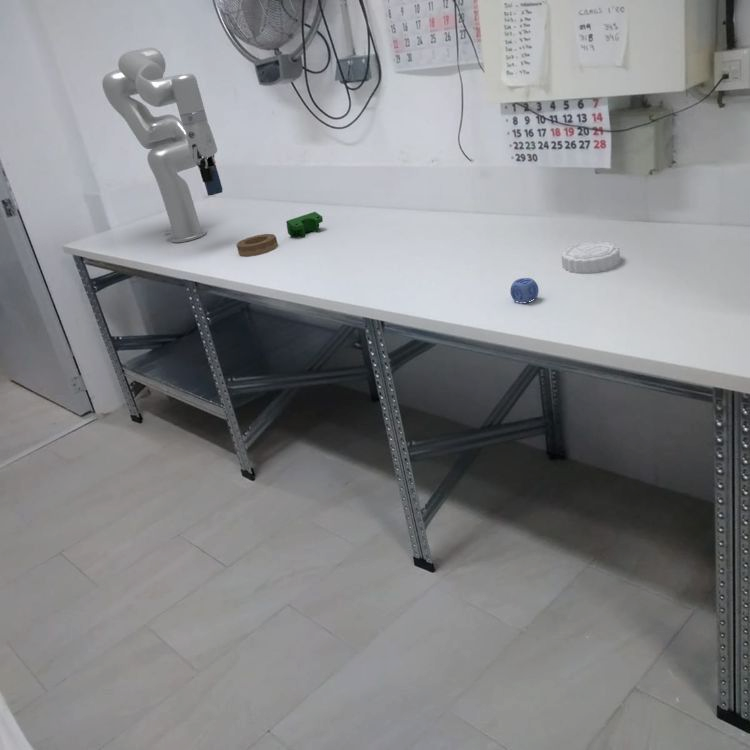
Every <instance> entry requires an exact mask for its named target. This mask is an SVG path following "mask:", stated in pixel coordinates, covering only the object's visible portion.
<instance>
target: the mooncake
mask: <svg viewBox="0 0 750 750" xmlns="http://www.w3.org/2000/svg"><path fill="white" fill-rule="evenodd" d="M620 254H621V252H620V247H619V246H618V245H616V244H614V243H613V244H612V243H611V242H606V241H592V242H591V241H590V242H585V243H578V244H575V245H572V246H570V247H569V248H567V249H565V250H564V251H563V252H561V263H562V265H561V266H562V269H563V270H564V271H565V270H566V272H568V273H575V274H590V273H591V274H595V273H596V274H597V273H599V272H605V271H606V272H607V270H611V269H613V268H615V267H617V266H618V265H619V264H620V263H621V257H620Z"/></svg>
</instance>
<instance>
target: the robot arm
mask: <svg viewBox="0 0 750 750" xmlns="http://www.w3.org/2000/svg"><path fill="white" fill-rule="evenodd" d="M117 66H118V69H117V70H113V71H110V72H108V73H107V74H105V76H104V77H103V78H102V83H101V84H102V90H103V92H104V95H105V97H106V99H107V101H108V103H109V104H110V105H111V106H112V108H113V109H114V110H115V111H116V112H117V113H118V114H119V115H120V116H121V117H122V118H123V119H124V121H125V122H126V123H127V125H128V127H129V128H130V130H131V131H132V133H133V134H134V137H135V138H136V139H137V141H138V142H139V144H140V145H141V146H142V147H143V148H144V149H146V150H149V152H148V154H147V163H148V166H149V168H150V170H151V171H152V174H153V176H154V178H155V180H156V183H157V186H158V189H159V192H160V194H161V197H162V201H163V204H164V207H165V211H166V213H167V214H166V215H167V216H168V221H169V223H170V226H171V227H169V228H164V229H163V230H162V232H163V235H164V236H169V235H170V241H171V243H174V244H175V243H177V244H178V243H184V242H190V241H193V240H196V239H199V238H202V237H204V236H205V235H206V234H207V233H208V232H207V230H206V229H205V228H201V224H200V221H199V218H198V215H197V211H196V207H195V204H194V200H193V197H192V195H191V191H190V190H191V189H190V187H189V185H188V183H187V181H186V180H185V179H184V178H183V177H181V176H180V175H179V174H178V173H180V172H183V171H185V170H186V171H187V170H189V169H193V168H195V167H198V170H199V173H200V175H201V180H202V182H203V183H204V182H210V181H213V178H212V174H211V171H210V168H208V167H210V166H215V169H216V170H217V171H218V169H217V164H216V160H215V154H217V152H218V147H217V144H216V141H215V137H214V135H213V132H212V129H211V126H210V125H209V122H208V117H207V113H206V110H205V106H204V102H203V99H202V95H201V92H200V87H199V85H198V80H197V78H196V76H195V75H194V74H193V73H187V74H176V75H172V76H166V77H164V74H165V72H166V67H167V66H166V60H165V58H164V56H163V54H162V52H161V51H160V50H158V49H157V48H155V47H146V48H141V49H136V50H129V51H127V52H124V53H123V54H122V55H121V56H120V57H119V58H118V63H117ZM135 95H136V96H137V95H139V97H140V99H141V100H142V101H143V102H145V103H146V104H149V105H150V106H152V107H155V108H159V107H160V108H161V107H165V106H169V105H172V104H176V106H177V109H178V114H179V117H180V118H178V117H177V116H176V115H174V114H164V115H159V116H154V115H152V113H151V112H150V109H148V108H147V106H146V105H145V104H144V103H142V102H141V101H139V100H137V99H135V98H133V97H131V96H135ZM199 156H200V157H202V158H199ZM201 160H204V162H203V161H201Z"/></svg>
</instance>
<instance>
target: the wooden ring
mask: <svg viewBox="0 0 750 750" xmlns="http://www.w3.org/2000/svg"><path fill="white" fill-rule="evenodd" d="M278 246H279V244H278V240H277V236H276V235H275V234H273V233H264V234H258V235H253V236H249V237H247V238H245V239H242V240H240V241H238V242H237V243H236V248H237V252H238V255H239V256H240V257H252V256H259V255H263V254H266V253H269V252H271V251H274V250H275V249H277V248H278Z"/></svg>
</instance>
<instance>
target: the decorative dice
mask: <svg viewBox="0 0 750 750" xmlns="http://www.w3.org/2000/svg"><path fill="white" fill-rule="evenodd" d="M539 292H540V291H539V285H538V283H537V281H535V280H534V279H533V278H530V277H523V278H518V279H515V280H514V281H513V282H512V284H511V286H510V296H511V298H512V300H513V301H514V302H515V301H518V302H529V301H531V300H533V299H535V298H536V299H537V298H538V295H539ZM536 299H535V300H536Z"/></svg>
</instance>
